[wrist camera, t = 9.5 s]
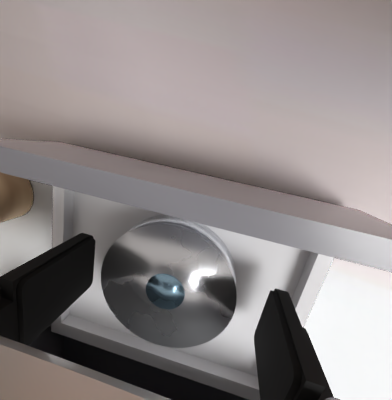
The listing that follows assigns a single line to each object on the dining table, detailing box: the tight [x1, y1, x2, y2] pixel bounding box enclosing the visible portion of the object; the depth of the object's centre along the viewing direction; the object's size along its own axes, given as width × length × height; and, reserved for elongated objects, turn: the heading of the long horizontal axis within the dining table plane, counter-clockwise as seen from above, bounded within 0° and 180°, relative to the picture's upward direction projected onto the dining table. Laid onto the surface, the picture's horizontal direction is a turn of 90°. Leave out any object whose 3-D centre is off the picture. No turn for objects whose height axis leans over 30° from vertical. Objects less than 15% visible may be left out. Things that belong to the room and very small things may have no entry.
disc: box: [101, 215, 237, 348], centre depth 11 cm, size 7×7×2 cm
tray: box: [0, 139, 392, 400], centre depth 10 cm, size 12×17×5 cm
